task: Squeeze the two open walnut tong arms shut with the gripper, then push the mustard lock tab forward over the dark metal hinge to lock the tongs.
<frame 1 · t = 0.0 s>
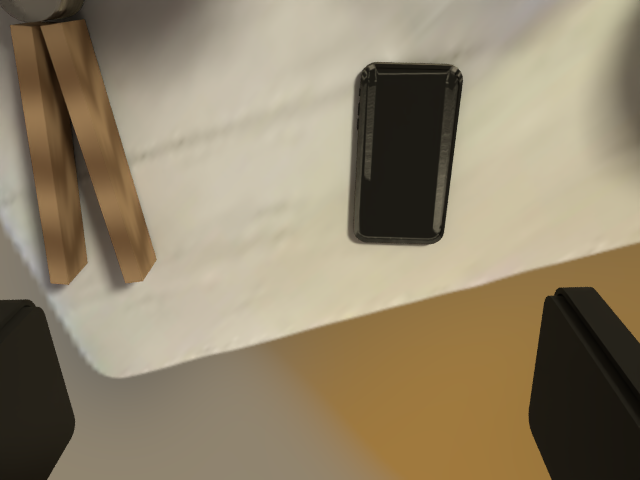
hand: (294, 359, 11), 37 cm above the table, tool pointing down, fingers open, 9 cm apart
tong arm 1: (54, 160, 45), point 2 cm above the table, hinge at 6.0°
tong arm 2: (106, 158, 45), point 2 cm above the table, hinge at 6.0°
phone: (402, 155, 47), on the table
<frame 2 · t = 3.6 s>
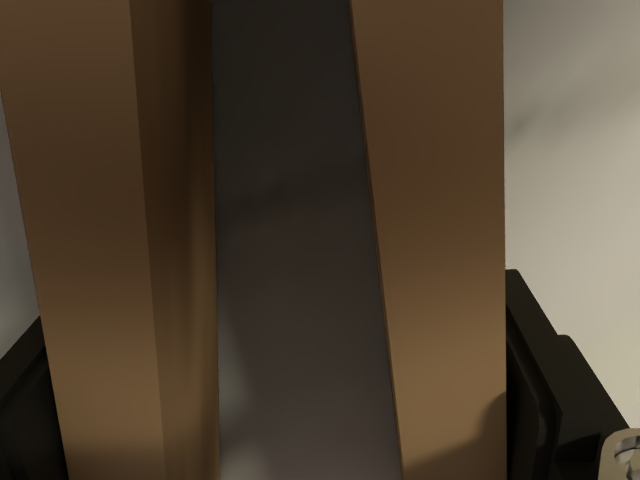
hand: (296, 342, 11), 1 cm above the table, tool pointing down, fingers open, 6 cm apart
tong arm 1: (135, 139, 8), point 2 cm above the table, hinge at 5.8°, touching gripper
tong arm 2: (415, 129, 8), point 2 cm above the table, hinge at 5.7°, touching gripper
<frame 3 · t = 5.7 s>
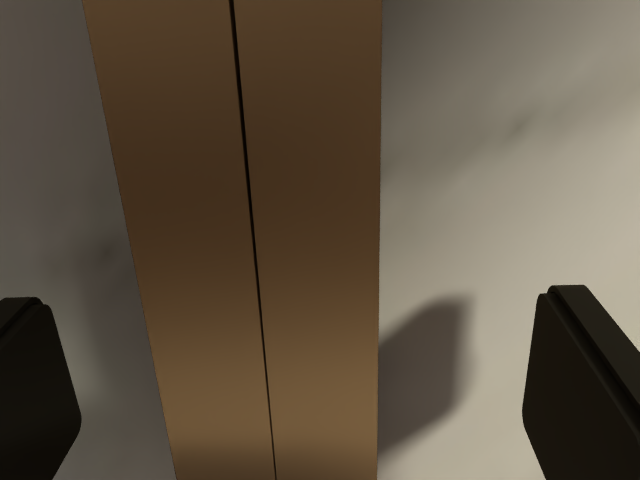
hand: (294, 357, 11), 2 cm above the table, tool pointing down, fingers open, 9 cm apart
tong arm 1: (216, 147, 8), point 2 cm above the table, hinge at 0.3°, touching tong arm 2
tong arm 2: (320, 145, 8), point 2 cm above the table, hinge at -0.5°, touching tong arm 1
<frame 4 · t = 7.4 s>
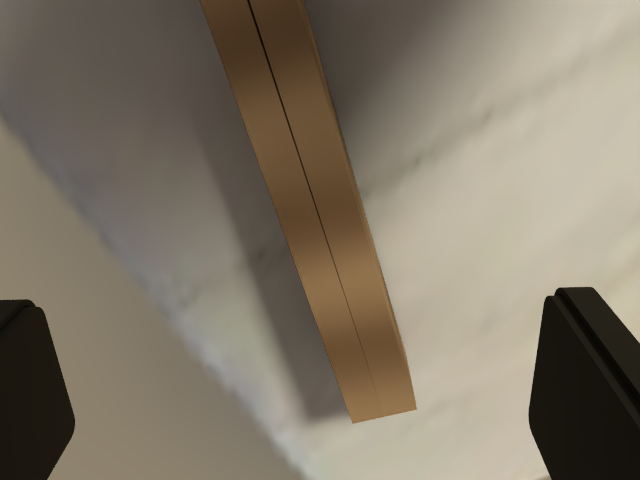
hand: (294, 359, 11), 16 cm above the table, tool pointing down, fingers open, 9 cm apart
tong arm 1: (301, 202, 24), point 2 cm above the table, hinge at 0.3°, touching tong arm 2
tong arm 2: (337, 192, 23), point 2 cm above the table, hinge at -0.5°, touching tong arm 1
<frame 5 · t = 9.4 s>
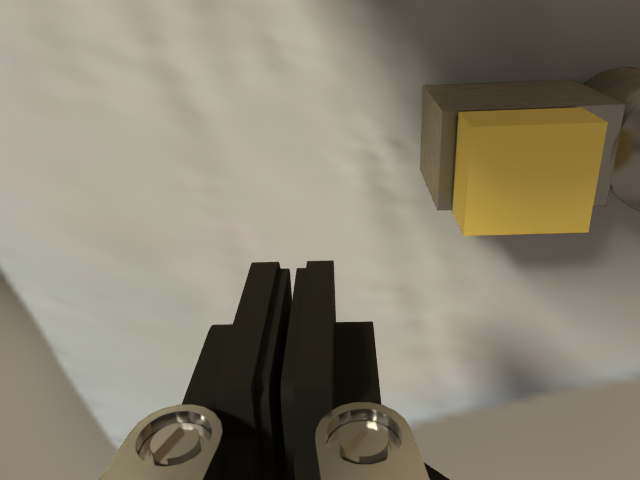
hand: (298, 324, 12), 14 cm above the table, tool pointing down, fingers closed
lock tab: (522, 171, 18), point 6 cm above the table, slide at 0.0 cm
tong hinge: (615, 122, 23), on the table
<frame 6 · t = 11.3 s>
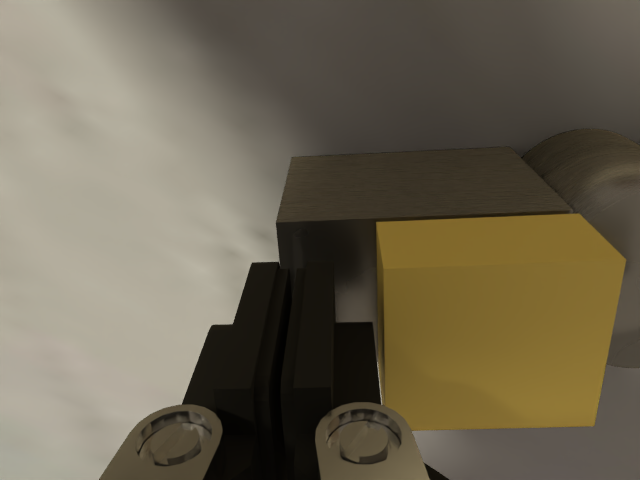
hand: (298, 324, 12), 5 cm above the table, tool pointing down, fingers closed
lock tab: (482, 321, 11), point 6 cm above the table, slide at 1.6 cm, touching gripper
tong hinge: (575, 204, 16), on the table
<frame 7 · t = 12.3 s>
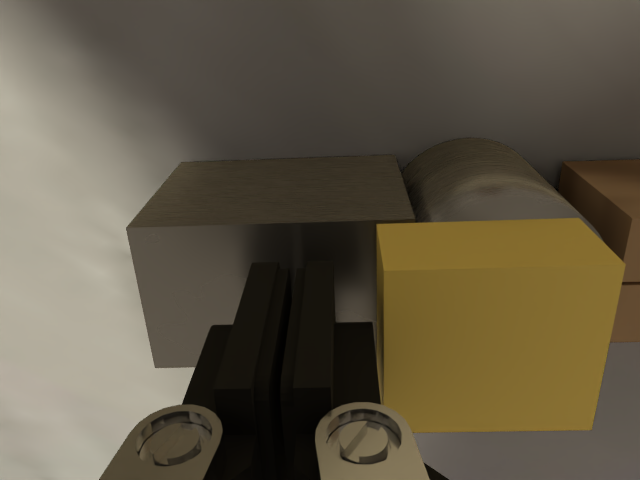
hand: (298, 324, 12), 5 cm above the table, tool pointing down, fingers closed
lock tab: (481, 324, 11), point 6 cm above the table, slide at 4.7 cm, touching gripper
tong hinge: (463, 212, 16), on the table
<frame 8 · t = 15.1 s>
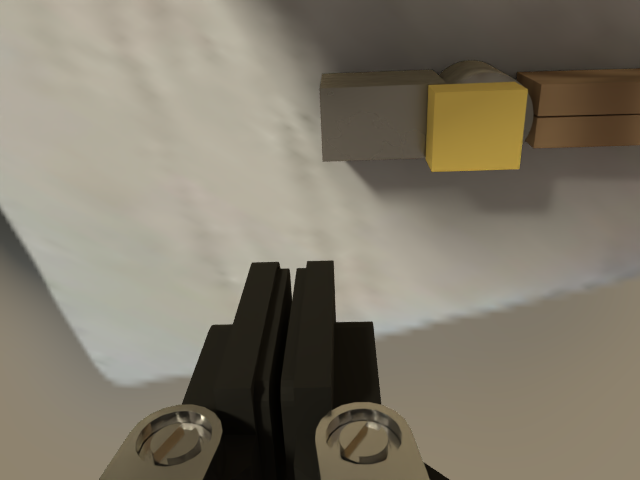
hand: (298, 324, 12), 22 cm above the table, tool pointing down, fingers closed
lock tab: (473, 126, 26), point 6 cm above the table, slide at 4.6 cm
tong hinge: (467, 101, 31), on the table
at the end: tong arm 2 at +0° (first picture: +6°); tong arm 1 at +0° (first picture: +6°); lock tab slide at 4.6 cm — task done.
